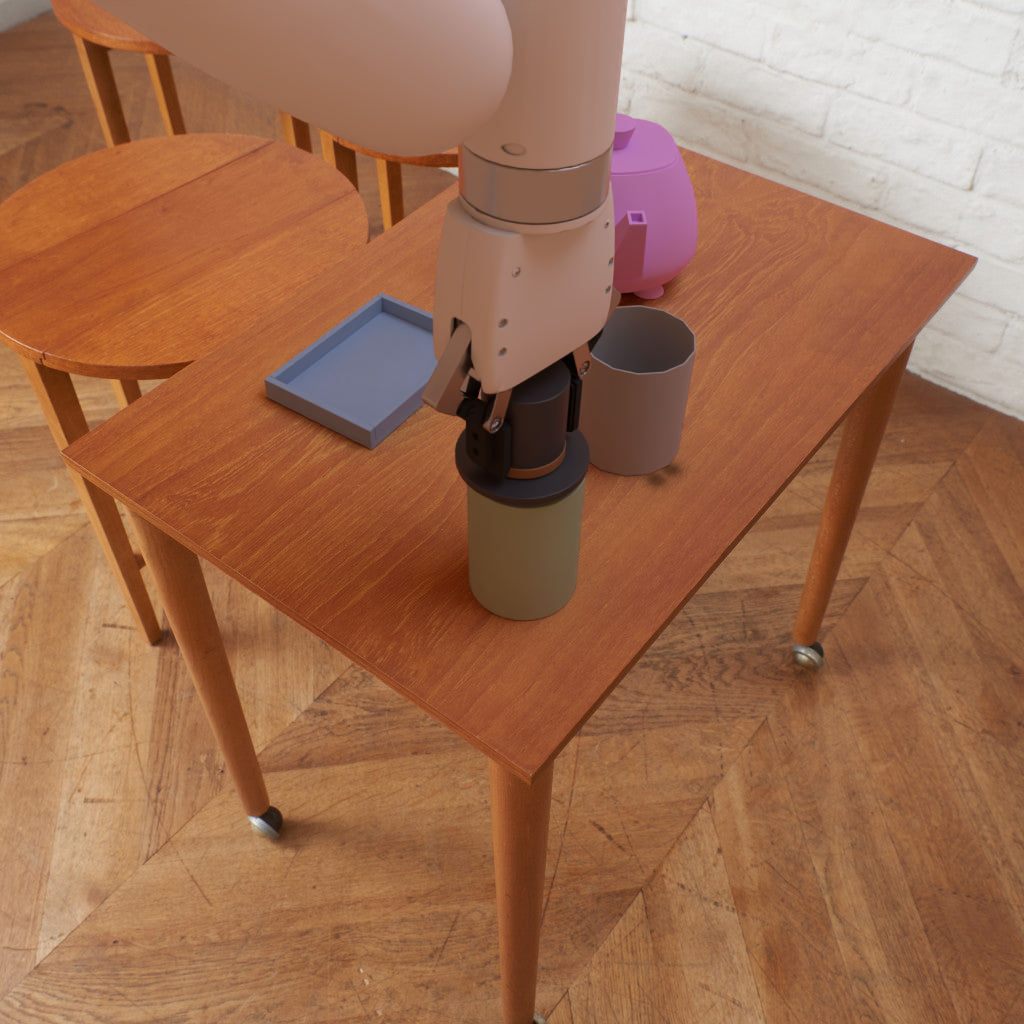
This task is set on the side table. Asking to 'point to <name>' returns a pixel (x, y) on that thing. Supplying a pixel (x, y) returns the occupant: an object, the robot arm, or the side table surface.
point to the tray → (362, 371)
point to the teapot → (650, 208)
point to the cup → (637, 390)
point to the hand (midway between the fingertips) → (522, 440)
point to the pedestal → (524, 554)
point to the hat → (533, 444)
